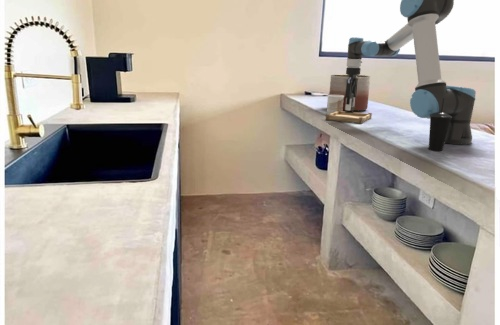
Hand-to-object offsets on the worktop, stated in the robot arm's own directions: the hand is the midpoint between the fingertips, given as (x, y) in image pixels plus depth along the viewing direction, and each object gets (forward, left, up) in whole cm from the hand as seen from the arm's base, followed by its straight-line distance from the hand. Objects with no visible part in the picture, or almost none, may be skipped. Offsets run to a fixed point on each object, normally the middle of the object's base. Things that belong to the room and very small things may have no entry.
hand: (349, 109), depth 208 cm
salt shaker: (0, 0, -2) cm, 2 cm away
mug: (+17, +14, -6) cm, 23 cm away
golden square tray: (0, 0, -6) cm, 6 cm away
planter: (+38, +13, -6) cm, 40 cm away
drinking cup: (-49, -50, -6) cm, 70 cm away
